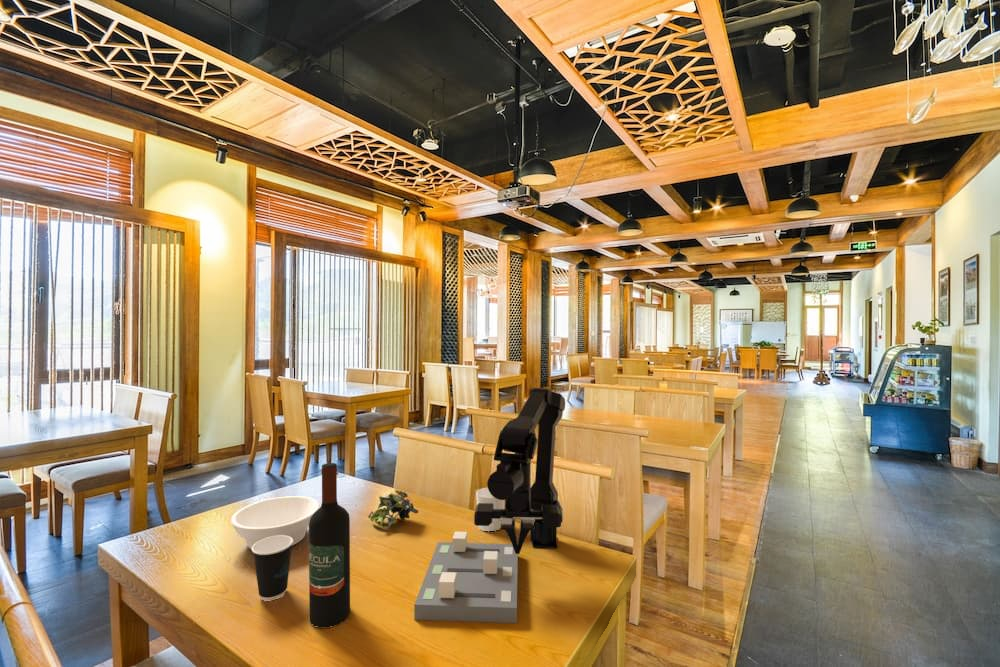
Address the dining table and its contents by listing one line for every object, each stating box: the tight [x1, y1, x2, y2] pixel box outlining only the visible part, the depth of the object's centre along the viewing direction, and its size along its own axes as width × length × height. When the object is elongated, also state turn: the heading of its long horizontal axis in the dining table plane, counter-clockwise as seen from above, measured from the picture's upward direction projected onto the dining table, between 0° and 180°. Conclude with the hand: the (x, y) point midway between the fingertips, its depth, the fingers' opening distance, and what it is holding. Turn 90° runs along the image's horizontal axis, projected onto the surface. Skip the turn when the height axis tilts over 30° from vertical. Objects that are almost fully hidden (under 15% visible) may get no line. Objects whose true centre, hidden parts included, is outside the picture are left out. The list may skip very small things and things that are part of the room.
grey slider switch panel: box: [413, 541, 519, 624], centre depth 99 cm, size 20×25×3 cm
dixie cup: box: [251, 535, 293, 601], centre depth 95 cm, size 8×8×11 cm
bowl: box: [230, 495, 321, 550], centre depth 119 cm, size 21×21×8 cm
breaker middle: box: [483, 551, 498, 574], centre depth 99 cm, size 3×4×3 cm
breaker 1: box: [439, 572, 456, 598], centre depth 90 cm, size 3×4×3 cm
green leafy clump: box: [368, 490, 419, 530], centre depth 128 cm, size 11×11×12 cm
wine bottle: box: [308, 462, 351, 628], centre depth 88 cm, size 8×8×30 cm
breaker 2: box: [452, 531, 468, 552], centre depth 108 cm, size 3×4×3 cm
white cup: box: [475, 486, 505, 533], centre depth 127 cm, size 8×8×10 cm
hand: (517, 553), depth 99 cm, fingers closed
